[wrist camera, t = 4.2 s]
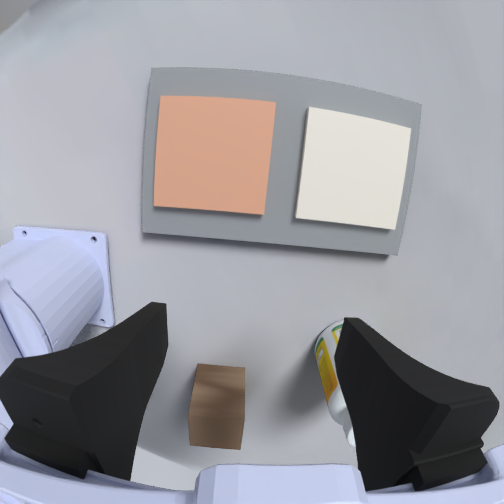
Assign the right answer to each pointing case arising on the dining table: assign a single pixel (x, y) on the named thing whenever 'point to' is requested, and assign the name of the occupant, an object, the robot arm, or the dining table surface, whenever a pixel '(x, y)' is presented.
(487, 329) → the dining table surface
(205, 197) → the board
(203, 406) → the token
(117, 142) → the dining table surface
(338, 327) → the supplement bottle
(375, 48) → the dining table surface
